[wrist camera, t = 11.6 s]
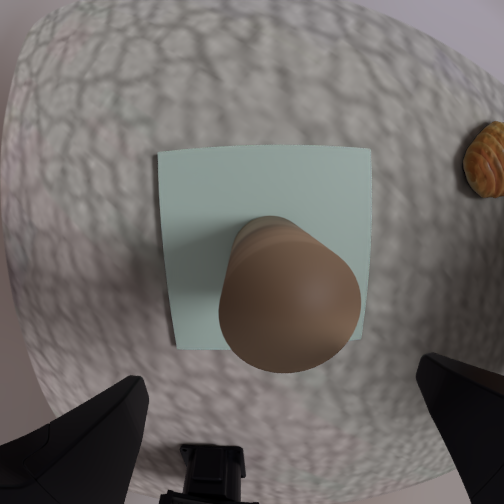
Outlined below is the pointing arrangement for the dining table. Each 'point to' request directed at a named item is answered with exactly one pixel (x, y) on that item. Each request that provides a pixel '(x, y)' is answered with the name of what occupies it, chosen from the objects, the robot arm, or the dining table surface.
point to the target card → (249, 208)
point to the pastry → (486, 161)
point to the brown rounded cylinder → (286, 298)
